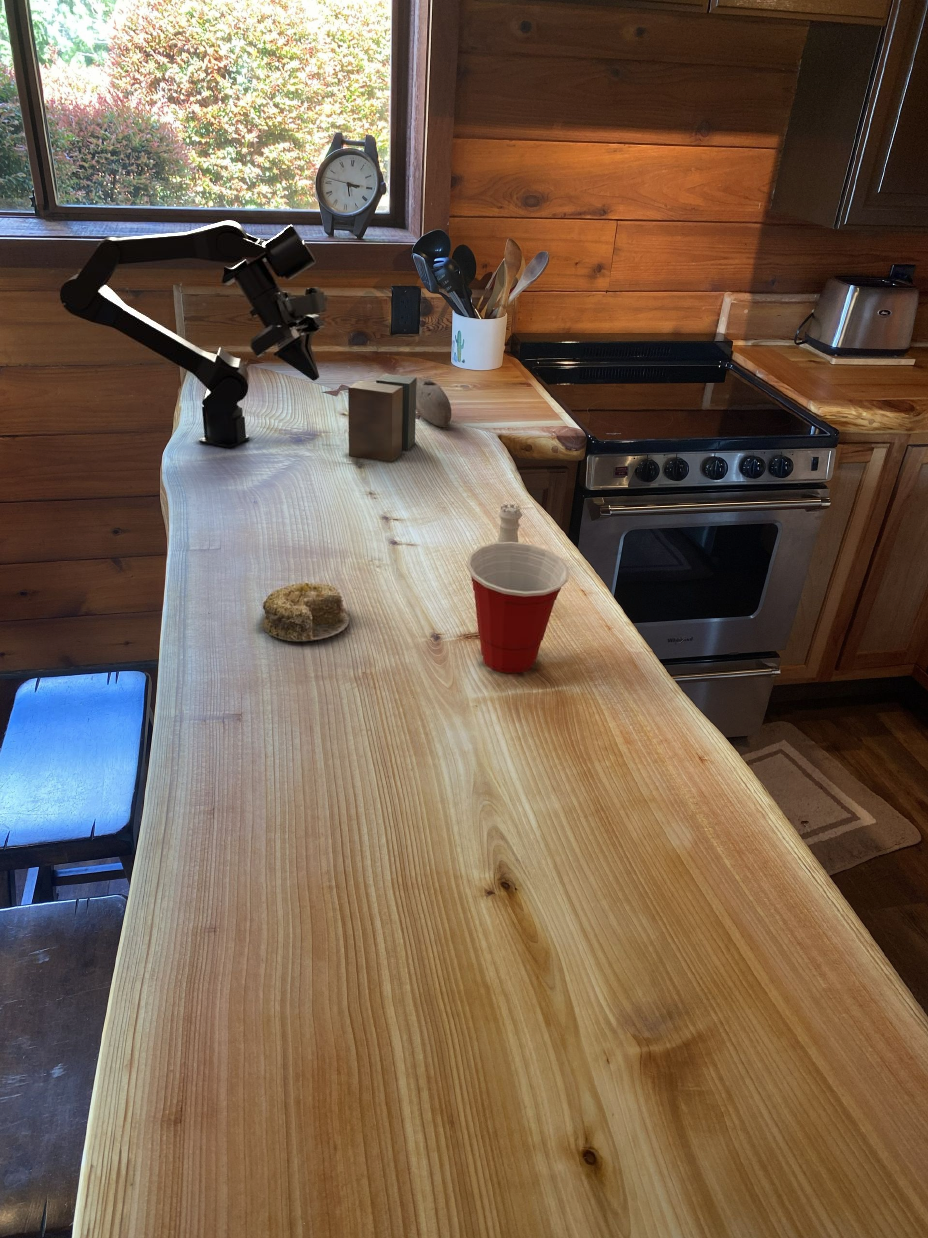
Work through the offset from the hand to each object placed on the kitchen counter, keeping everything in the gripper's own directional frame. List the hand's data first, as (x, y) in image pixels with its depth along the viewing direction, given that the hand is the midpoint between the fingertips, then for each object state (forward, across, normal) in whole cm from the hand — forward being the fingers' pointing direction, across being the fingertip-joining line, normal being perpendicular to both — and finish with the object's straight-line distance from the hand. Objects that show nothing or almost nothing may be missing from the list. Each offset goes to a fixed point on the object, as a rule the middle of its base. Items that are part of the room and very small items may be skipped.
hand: (316, 379), depth 153 cm
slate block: (+16, +9, -3) cm, 19 cm away
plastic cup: (+40, -59, -27) cm, 77 cm away
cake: (+26, -59, -8) cm, 64 cm away
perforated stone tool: (+17, +25, -5) cm, 31 cm away
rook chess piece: (+36, -34, -24) cm, 55 cm away
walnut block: (+16, +2, -1) cm, 16 cm away
